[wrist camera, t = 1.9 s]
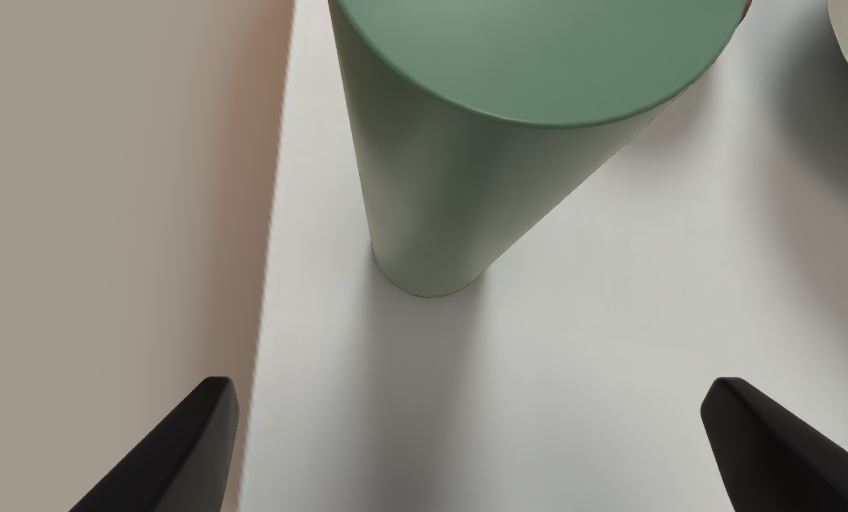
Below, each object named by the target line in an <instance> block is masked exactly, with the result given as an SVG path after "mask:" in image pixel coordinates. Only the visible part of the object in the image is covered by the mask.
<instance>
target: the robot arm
mask: <svg viewBox="0 0 848 512" xmlns="http://www.w3.org/2000/svg"><path fill="white" fill-rule="evenodd" d="M701 418H702V421H703V424H704V427H705V430H706V433H707V436H708V439H709V442H710V445H711V448H712V451H713V454H714V457H715V459H716V462H717V465H718V468H719V471H720V474H721V477H722V480H723V483H724V486H725V488H726V491H727V493H728V496H729V498H730V501H731V503H732V505H733V508H734V510H735V512H848V452H847V451H846V450H844V449H843V448H842V447H840V446H839V445H837V444H836V443H834V442H833V441H831V440H830V439H829V438H827V437H826V436H824V435H823V434H821V433H820V432H819V431H817V430H816V429H814V428H813V427H811V426H810V425H808V424H807V423H806V422H804V421H803V420H801V419H800V418H798V417H797V416H795V415H794V414H793V413H791V412H790V411H788V410H787V409H785V408H784V407H783V406H781V405H780V404H778V403H777V402H775V401H774V400H772V399H771V398H770V397H768V396H767V395H765V394H764V393H762V392H761V391H760V390H758V389H757V388H755V387H754V386H752V385H751V384H749V383H748V382H747V381H745V380H743V379H741V378H738V377H720V378H717V379H716V380H715V381H714V382H713V384H712V386H711V387H710V389H709V391H708V393H707V395H706V397H705V399H704V400H703V402H702V405H701ZM238 421H239V404H238V400H237V396H236V392H235V387H234V383H233V381H232V379H231V378H230V377H208V378H206V379H204V380H203V381H202V382H201V383H200V384H199V385H198V386H197V387H196V388H195V389H194V390H193V391H192V392H191V393H190V394H189V395H188V396H187V397H186V398H185V399H184V400H183V401H181V403H179V404H178V405H177V406H176V407H175V408H174V409H173V410H172V411H171V412H170V413H169V414H168V415H167V416H166V417H165V418H164V419H163V420H162V421H161V422H160V423H159V424H158V425H157V426H156V427H155V428H154V429H153V430H152V431H151V432H150V433H149V434H148V435H147V436H146V437H145V438H143V440H141V441H140V443H138V444H137V445H136V446H135V447H134V448H133V449H132V450H131V451H130V452H129V453H128V454H127V455H126V456H125V457H124V458H123V459H122V460H121V461H120V462H119V463H118V464H117V465H116V466H115V467H114V468H113V469H112V470H111V471H110V472H109V473H108V474H107V475H106V476H104V478H102V479H101V480H100V481H99V482H98V483H97V484H96V485H95V486H94V487H93V488H92V489H91V490H90V491H89V492H88V493H87V494H86V495H85V496H84V497H83V498H82V499H81V500H80V501H79V502H78V503H77V504H76V505H75V506H74V507H73V508H72V509H71V510H70V511H69V512H220V510H221V506H222V502H223V498H224V493H225V489H226V483H227V478H228V473H229V467H230V462H231V457H232V452H233V447H234V442H235V436H236V431H237V426H238Z"/></svg>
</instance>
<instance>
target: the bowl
mask: <svg viewBox="0 0 848 512" xmlns="http://www.w3.org/2000/svg"><path fill="white" fill-rule="evenodd" d="M827 6H828V12H829V18H830V22H831V24H832V27H833V30H834V32H835V35H836V38H837V40H838V43H839V46H840V48H841V51H842V53H843V56H844V57H845V59H846V61H847V62H848V0H827Z"/></svg>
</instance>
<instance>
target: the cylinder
mask: <svg viewBox="0 0 848 512" xmlns="http://www.w3.org/2000/svg"><path fill="white" fill-rule="evenodd" d="M746 1H747V0H328V4H329V10H330V15H331V21H332V26H333V32H334V37H335V43H336V49H337V54H338V60H339V65H340V71H341V76H342V82H343V87H344V93H345V98H346V104H347V109H348V115H349V120H350V126H351V131H352V137H353V143H354V148H355V154H356V159H357V165H358V170H359V176H360V181H361V187H362V192H363V198H364V203H365V209H366V214H367V220H368V225H369V231H370V236H371V242H372V248H373V252H374V256H375V259H376V261H377V264H378V265H379V267H380V269H381V271H382V272H383V273H384V275H385V276H386V277H387V278H388V279H389V280H390V281H391V282H392V283H393V284H394V285H396V286H397V287H399V288H400V289H402V290H404V291H406V292H408V293H411V294H414V295H417V296H423V297H440V296H445V295H449V294H452V293H454V292H457V291H459V290H460V289H462V288H464V287H465V286H466V285H468V284H469V283H470V282H471V281H472V280H474V279H475V278H476V277H477V276H478V275H479V274H480V273H481V272H483V271H484V270H485V269H486V268H487V267H488V266H489V265H490V264H491V263H493V262H494V261H495V260H496V259H497V258H498V257H499V256H500V255H502V254H503V253H504V252H505V251H506V250H507V249H508V248H509V247H511V246H512V245H513V244H514V243H515V242H516V241H517V240H518V239H520V238H521V237H522V236H523V235H524V234H525V233H526V232H527V231H528V230H530V229H531V228H532V227H533V226H534V225H535V224H536V223H537V222H539V221H540V220H541V219H542V218H543V217H544V216H545V215H546V214H548V213H549V212H550V211H551V210H552V209H553V208H554V207H555V206H557V205H558V204H559V203H560V202H561V201H562V200H563V199H564V198H565V197H567V196H568V195H569V194H570V193H571V192H572V191H573V190H574V189H576V188H577V187H578V186H579V185H580V184H581V183H582V182H583V181H585V180H586V179H587V178H588V177H589V176H590V175H591V174H592V173H594V172H595V171H596V170H597V169H598V168H599V167H600V166H601V165H602V164H604V163H605V162H606V161H607V160H608V159H609V158H610V157H611V156H613V155H614V154H615V153H616V152H617V151H618V150H619V149H620V148H622V147H623V146H624V145H625V144H626V143H627V142H628V141H629V140H630V139H632V138H633V137H634V136H635V135H636V134H637V133H638V132H639V131H641V130H642V129H643V128H644V127H645V126H646V125H647V124H648V123H650V122H651V121H652V120H653V119H654V118H655V117H656V116H657V115H659V114H660V113H661V112H662V111H663V110H664V109H665V108H666V107H667V106H669V105H670V104H671V103H672V102H673V101H674V100H675V99H676V98H678V97H679V96H680V95H681V94H682V93H683V92H684V91H685V90H687V89H688V88H689V87H690V86H691V85H692V84H693V83H694V82H696V81H697V80H698V78H699V77H700V76H701V75H702V74H703V73H704V72H705V71H706V70H707V69H708V68H709V67H710V66H711V65H712V64H713V63H714V62H715V61H716V59H717V58H718V57H719V55H720V54H721V52H722V51H723V50H724V48H725V47H726V45H727V44H728V43H729V41H730V39H731V37H732V35H733V33H734V31H735V29H736V27H737V25H738V23H739V21H740V19H741V16H742V13H743V10H744V7H745V4H746Z"/></svg>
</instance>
